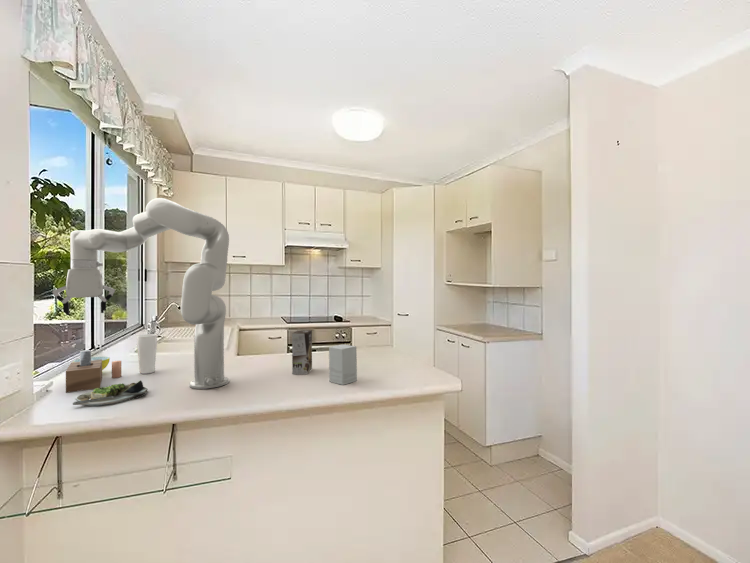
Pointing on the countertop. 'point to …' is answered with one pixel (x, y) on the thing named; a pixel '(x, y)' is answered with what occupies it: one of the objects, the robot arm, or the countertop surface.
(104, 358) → the bowl
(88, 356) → the long pin
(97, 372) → the brown slotted box
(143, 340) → the drinking glass
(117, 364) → the short pin
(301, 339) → the coffee box
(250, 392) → the countertop surface
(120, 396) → the salad plate
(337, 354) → the supplement box
